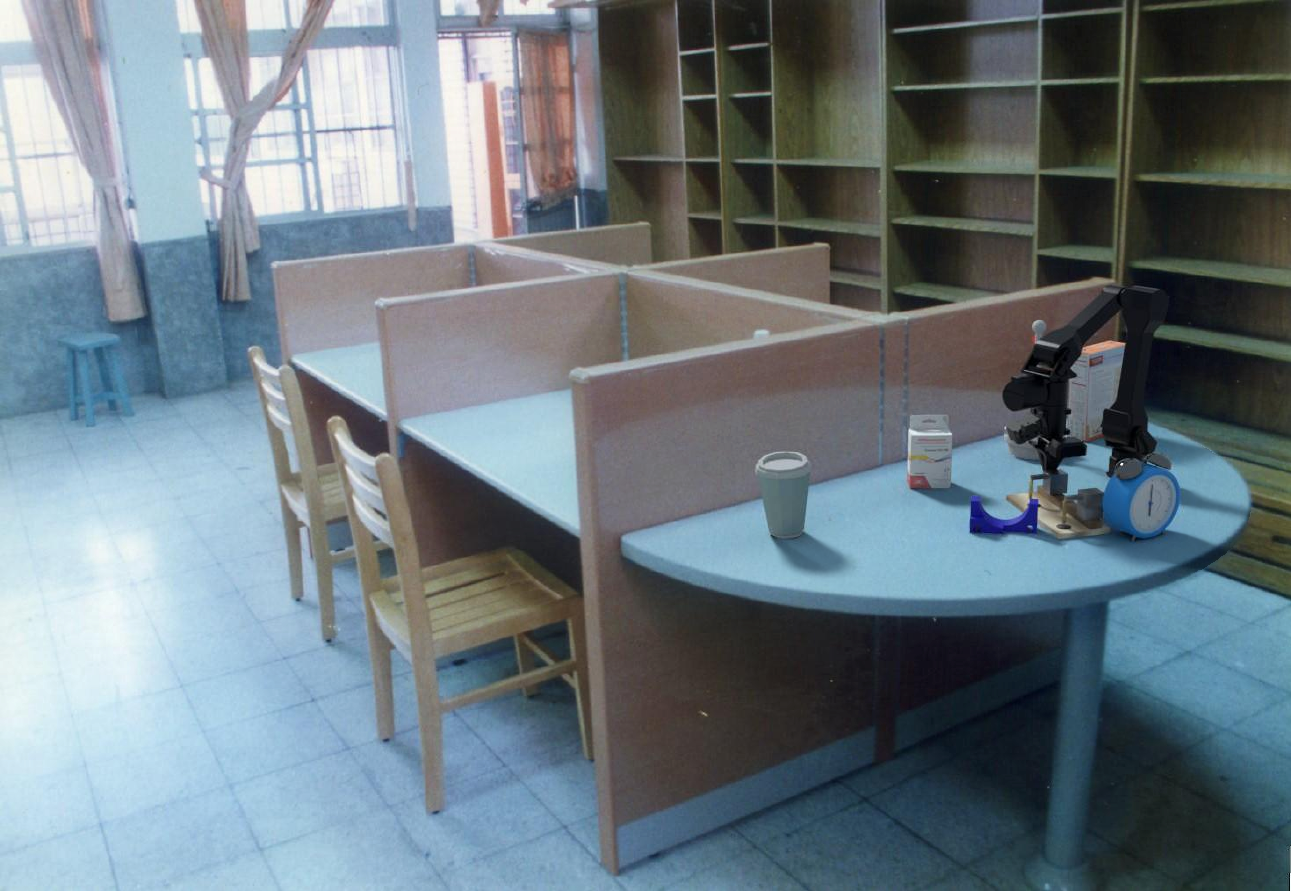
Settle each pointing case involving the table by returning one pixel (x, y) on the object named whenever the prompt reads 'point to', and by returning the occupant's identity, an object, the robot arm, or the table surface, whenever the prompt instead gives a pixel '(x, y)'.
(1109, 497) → the alarm clock
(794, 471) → the disposable coffee cup
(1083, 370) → the cracker box
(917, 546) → the table surface
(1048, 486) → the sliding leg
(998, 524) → the blue cradle bracket
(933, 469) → the ink cartridge box
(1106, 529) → the hole plate
